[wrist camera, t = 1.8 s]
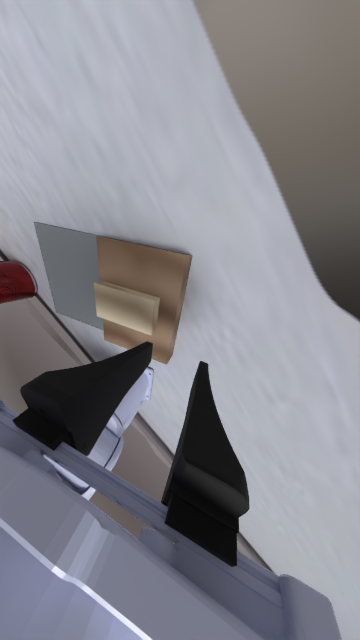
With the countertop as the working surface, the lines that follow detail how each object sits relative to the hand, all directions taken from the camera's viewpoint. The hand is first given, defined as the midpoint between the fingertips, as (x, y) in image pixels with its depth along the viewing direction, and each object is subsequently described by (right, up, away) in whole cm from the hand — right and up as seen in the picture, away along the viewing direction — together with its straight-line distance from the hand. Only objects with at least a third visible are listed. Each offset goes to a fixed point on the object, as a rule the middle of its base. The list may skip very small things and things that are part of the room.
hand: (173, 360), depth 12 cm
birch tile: (-7, +5, +8) cm, 12 cm away
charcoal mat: (-18, +10, +13) cm, 24 cm away
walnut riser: (-5, +6, +10) cm, 13 cm away
